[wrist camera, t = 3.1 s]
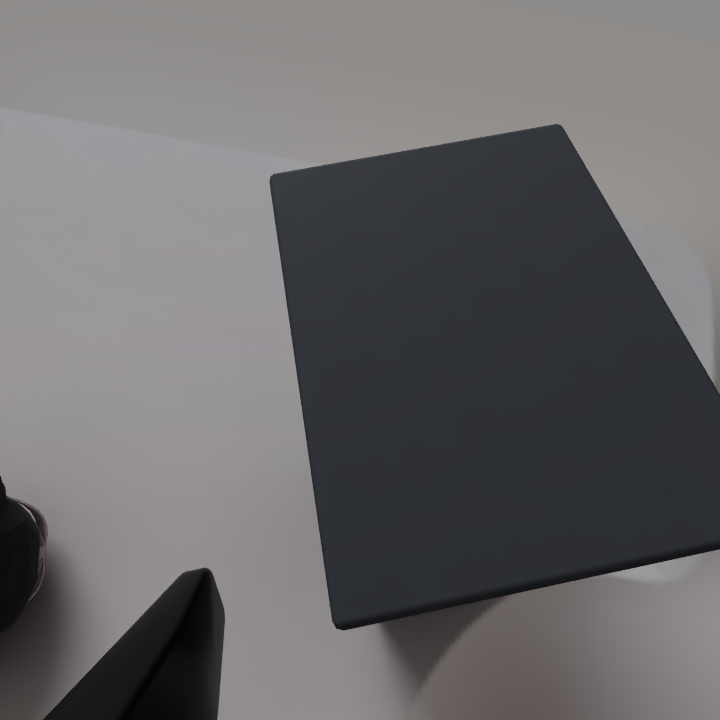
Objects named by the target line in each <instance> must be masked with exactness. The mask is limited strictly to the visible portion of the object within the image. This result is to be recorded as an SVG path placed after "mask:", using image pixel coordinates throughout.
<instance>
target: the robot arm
mask: <svg viewBox="0 0 720 720" xmlns="http://www.w3.org/2000/svg"><path fill="white" fill-rule="evenodd" d="M224 626H225V614H224V607H223V603H222V600H221V597H220V594H219V591H218V588H217V585H216V582H215V579H214V576H213V574H212V572H211V571H210V569H208V568H201V569H196V570H192V571H187V572H184V573H182V574H181V575H180V576H179V577H178V578H177V579H176V580H175V581H174V582H173V584H172V585H171V586H170V587H169V588H168V589H167V590H166V591H165V592H164V593H163V594H162V595H161V596H160V597H159V598H158V599H157V600H156V601H155V602H154V604H153V605H152V606H151V607H150V608H149V609H148V610H147V611H146V612H145V613H144V614H143V615H142V616H141V617H140V618H139V619H138V620H137V621H136V622H135V624H134V625H133V626H132V627H131V628H130V629H129V630H128V631H127V632H126V633H125V634H124V635H123V636H122V637H121V638H120V639H119V640H118V641H117V642H116V644H115V645H114V646H113V647H112V648H111V649H110V650H109V651H108V652H107V653H106V654H105V655H104V656H103V657H102V658H101V659H100V660H99V661H98V662H97V664H96V665H95V666H94V667H93V668H92V669H91V670H90V671H89V672H88V673H87V674H86V675H85V676H84V677H83V678H82V679H81V680H80V681H79V682H78V684H77V685H76V686H75V687H74V688H73V689H72V690H71V691H70V692H69V693H68V694H67V695H66V696H65V697H64V698H63V699H62V700H61V701H60V702H59V704H58V705H57V706H56V707H55V708H54V709H53V710H52V711H51V712H50V713H49V714H48V715H47V716H46V717H45V718H44V719H43V720H217V716H218V706H219V693H220V679H221V666H222V652H223V639H224Z"/></svg>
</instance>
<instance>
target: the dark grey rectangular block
mask: <svg viewBox="0 0 720 720" xmlns="http://www.w3.org/2000/svg"><path fill="white" fill-rule="evenodd" d="M270 189H271V196H272V203H273V210H274V217H275V224H276V231H277V238H278V245H279V251H280V258H281V265H282V272H283V279H284V286H285V293H286V300H287V307H288V314H289V321H290V328H291V335H292V342H293V349H294V356H295V363H296V370H297V377H298V384H299V391H300V398H301V405H302V412H303V419H304V426H305V433H306V440H307V447H308V454H309V461H310V468H311V475H312V482H313V489H314V496H315V503H316V510H317V517H318V524H319V531H320V538H321V545H322V552H323V559H324V566H325V573H326V580H327V587H328V594H329V601H330V608H331V615H332V621H333V623H334V625H335V627H336V629H340V630H348V629H353V628H357V627H362V626H367V625H371V624H376V623H380V622H385V621H390V620H394V619H399V618H404V617H408V616H413V615H418V614H422V613H427V612H431V611H436V610H441V609H445V608H450V607H455V606H459V605H464V604H468V603H473V602H478V601H482V600H487V599H492V598H496V597H501V596H506V595H510V594H515V593H519V592H524V591H529V590H533V589H538V588H543V587H547V586H552V585H556V584H561V583H566V582H570V581H575V580H580V579H584V578H589V577H594V576H598V575H603V574H607V573H612V572H617V571H621V570H626V569H631V568H635V567H640V566H644V565H649V564H654V563H658V562H663V561H668V560H672V559H677V558H681V557H686V556H691V555H695V554H700V553H705V552H709V551H714V550H719V549H720V394H719V392H718V391H717V389H716V387H715V386H714V384H713V382H712V381H711V379H710V377H709V375H708V374H707V372H706V370H705V369H704V367H703V365H702V364H701V362H700V360H699V358H698V357H697V355H696V353H695V352H694V350H693V348H692V347H691V345H690V343H689V341H688V340H687V338H686V336H685V335H684V333H683V331H682V330H681V328H680V326H679V324H678V323H677V321H676V319H675V318H674V316H673V314H672V312H671V311H670V309H669V307H668V306H667V304H666V302H665V301H664V299H663V297H662V295H661V294H660V292H659V290H658V289H657V287H656V285H655V284H654V282H653V280H652V278H651V277H650V275H649V273H648V272H647V270H646V268H645V267H644V265H643V263H642V261H641V260H640V258H639V256H638V255H637V253H636V251H635V250H634V248H633V246H632V244H631V243H630V241H629V239H628V238H627V236H626V234H625V233H624V231H623V229H622V227H621V226H620V224H619V222H618V221H617V219H616V217H615V215H614V214H613V212H612V210H611V209H610V207H609V205H608V204H607V202H606V200H605V198H604V197H603V195H602V194H601V192H600V190H599V188H598V187H597V185H596V183H595V181H594V180H593V178H592V177H591V175H590V173H589V171H588V170H587V168H586V166H585V164H584V163H583V161H582V159H581V158H580V156H579V154H578V153H577V151H576V149H575V147H574V146H573V144H572V142H571V141H570V139H569V137H568V135H567V134H566V132H565V131H564V129H563V127H562V126H561V125H558V124H555V125H549V126H543V127H537V128H532V129H526V130H521V131H515V132H509V133H504V134H498V135H492V136H486V137H481V138H475V139H470V140H464V141H458V142H453V143H447V144H441V145H436V146H430V147H424V148H419V149H413V150H407V151H402V152H396V153H391V154H385V155H379V156H374V157H368V158H363V159H357V160H351V161H345V162H340V163H334V164H328V165H323V166H317V167H311V168H306V169H300V170H294V171H289V172H283V173H277V174H273V175H272V176H271V177H270Z"/></svg>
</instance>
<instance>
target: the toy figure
mask: <svg viewBox="0 0 720 720" xmlns="http://www.w3.org/2000/svg"><path fill="white" fill-rule="evenodd" d="M17 502H18V503H17ZM19 503H20V504H23V505H24V506H25V507H26V508H28V509H29V510H30V511H31V513H32V514H33V516H34V518H35V520H36V523H37V524H36V523H35V521H34V520H33V519H32V517H31V515H30V514H29V513H28V512H27V511H26V510H25V509H24V508H23V507H22V506H21V505H20V504H19ZM47 535H48V533H47V524H46V521H45V519H44V516H43V515H42V514H41V513H40V512H39V511H38V510H37V509H36V508H34V507H33V506H31V505H29V504H27V503H25V502H23V501H20V500H17V499H14V498H11V497H8V496H6V489H5V486H4V484H3V483H2V480H1V476H0V634H1V633H2V632H3V631H5V630H6V629H7V628H9V627H10V626H11V625H12V624H13V623H14V622H15V621H16V620H17V618H18V617H19V615H20V613H21V612H22V610H23V608H24V607H25V605H26V603H28V602H29V601H30V600H31V599H32V598H33V597H34V595H35V594H36V593H37V591H38V589H39V588H40V586H41V583H42V580H43V577H44V574H45V566H46V564H45V555H46V543H47Z"/></svg>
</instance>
